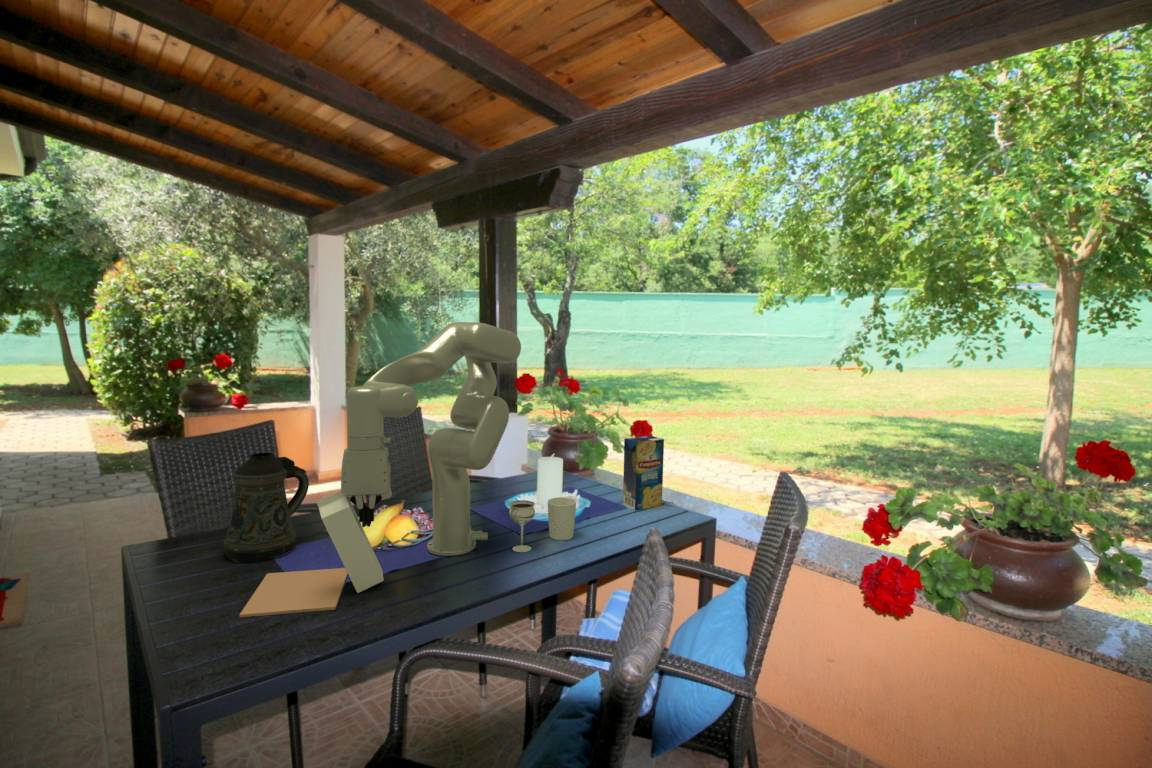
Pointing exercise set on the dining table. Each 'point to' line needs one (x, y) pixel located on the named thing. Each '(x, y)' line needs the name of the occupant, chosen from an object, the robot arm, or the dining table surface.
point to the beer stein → (263, 509)
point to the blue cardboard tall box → (643, 472)
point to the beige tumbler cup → (561, 518)
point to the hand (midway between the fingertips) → (366, 524)
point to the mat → (296, 592)
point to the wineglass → (522, 518)
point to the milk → (350, 541)
